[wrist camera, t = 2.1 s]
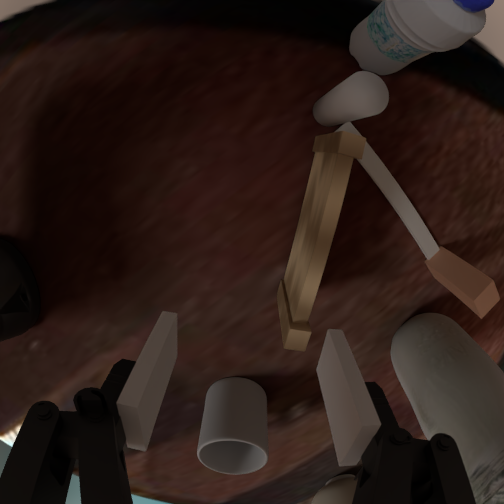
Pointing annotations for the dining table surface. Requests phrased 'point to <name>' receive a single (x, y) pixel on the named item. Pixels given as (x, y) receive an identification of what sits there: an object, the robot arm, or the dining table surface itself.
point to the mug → (234, 427)
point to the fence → (438, 258)
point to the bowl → (337, 491)
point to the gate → (315, 232)
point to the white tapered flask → (455, 395)
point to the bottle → (414, 31)
